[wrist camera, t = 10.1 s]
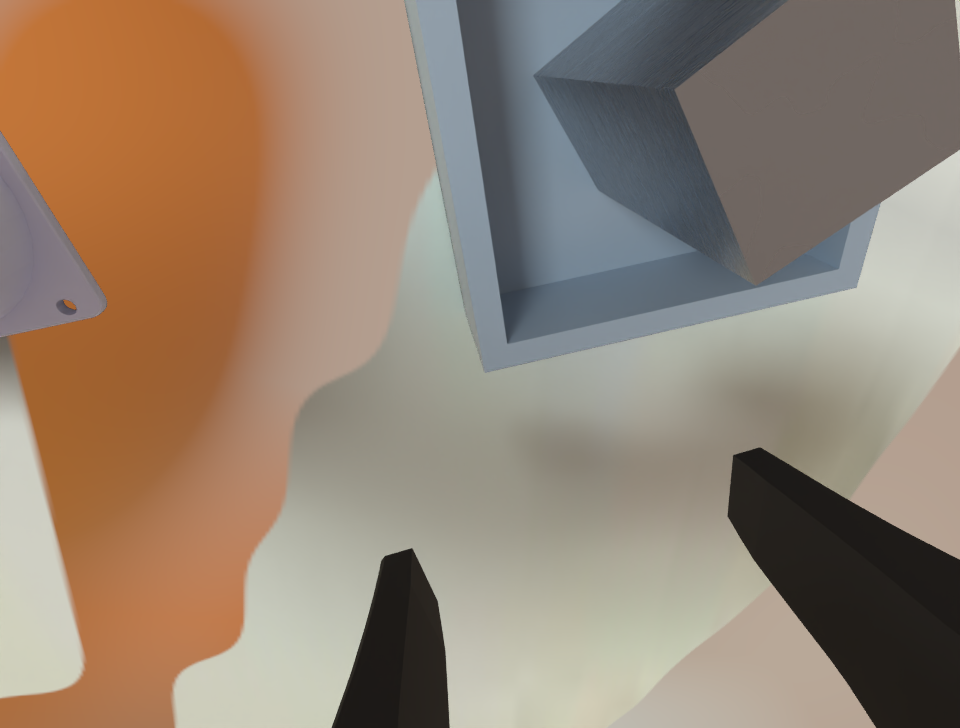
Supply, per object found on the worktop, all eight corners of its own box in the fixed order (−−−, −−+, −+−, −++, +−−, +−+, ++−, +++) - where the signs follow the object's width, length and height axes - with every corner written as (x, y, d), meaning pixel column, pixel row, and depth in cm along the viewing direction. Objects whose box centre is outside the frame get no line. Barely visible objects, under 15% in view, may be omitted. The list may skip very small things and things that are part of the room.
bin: (465, 314, 18) (484, 372, 15) (378, -133, 12) (376, -211, 8) (771, 246, 19) (856, 287, 15) (851, -212, 12) (1028, -315, 9)
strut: (598, 190, 16) (756, 285, 9) (533, 75, 14) (674, 89, 7) (707, 106, 15) (968, 144, 8) (655, -29, 13) (943, -122, 6)
